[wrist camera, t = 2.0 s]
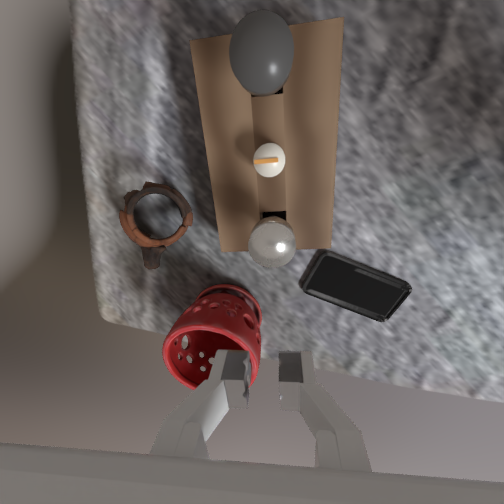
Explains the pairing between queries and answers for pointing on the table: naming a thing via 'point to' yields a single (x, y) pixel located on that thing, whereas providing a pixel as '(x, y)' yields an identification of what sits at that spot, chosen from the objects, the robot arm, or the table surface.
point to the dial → (269, 160)
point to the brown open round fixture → (148, 245)
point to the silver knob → (272, 242)
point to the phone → (355, 286)
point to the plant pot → (213, 332)
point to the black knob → (261, 52)
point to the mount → (273, 137)
